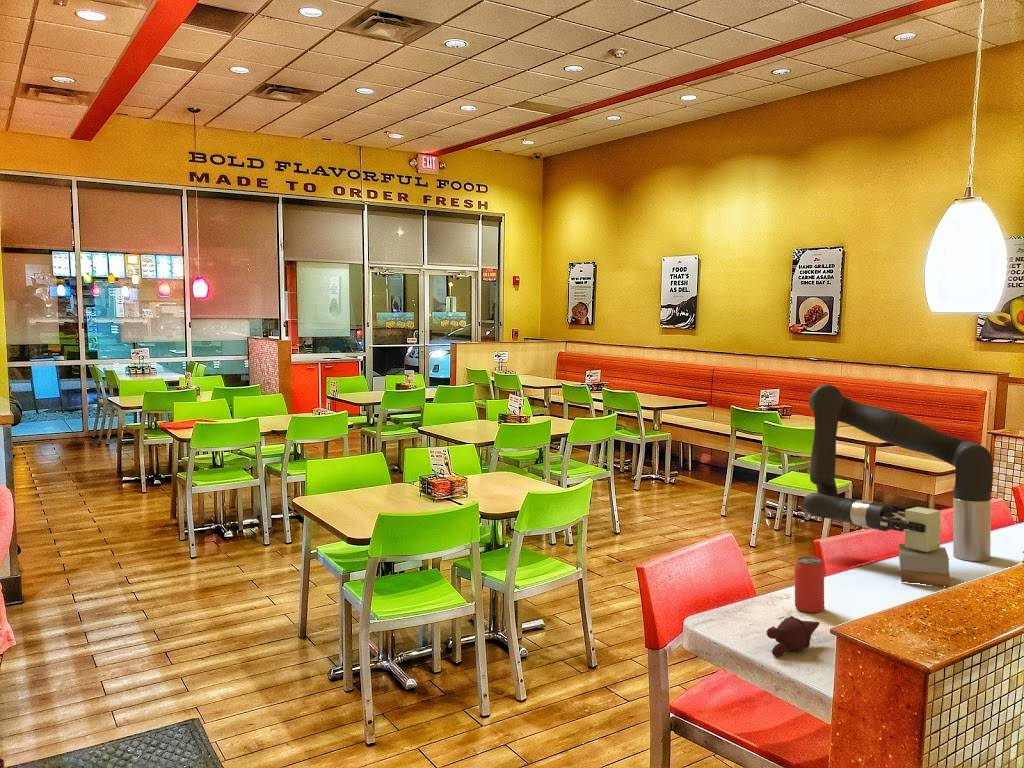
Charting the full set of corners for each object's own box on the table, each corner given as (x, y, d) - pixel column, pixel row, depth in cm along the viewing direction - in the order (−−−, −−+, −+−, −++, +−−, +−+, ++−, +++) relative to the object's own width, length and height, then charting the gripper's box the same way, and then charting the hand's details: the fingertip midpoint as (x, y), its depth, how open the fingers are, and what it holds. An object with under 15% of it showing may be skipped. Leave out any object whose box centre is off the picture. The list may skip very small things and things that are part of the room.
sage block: (917, 543, 205) (917, 506, 205) (939, 548, 200) (940, 510, 200) (904, 546, 202) (905, 509, 202) (927, 551, 197) (927, 514, 196)
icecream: (800, 605, 166) (752, 626, 159) (828, 607, 160) (779, 628, 153) (809, 637, 166) (761, 659, 158) (837, 640, 159) (788, 663, 152)
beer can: (819, 615, 177) (819, 565, 177) (791, 610, 181) (790, 561, 181) (827, 607, 182) (827, 558, 182) (799, 602, 186) (799, 554, 186)
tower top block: (899, 558, 208) (898, 543, 208) (944, 562, 204) (945, 547, 203) (900, 569, 198) (900, 554, 198) (948, 573, 194) (948, 558, 193)
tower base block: (900, 572, 208) (900, 558, 208) (946, 577, 204) (946, 562, 203) (901, 584, 199) (901, 569, 198) (949, 589, 194) (949, 574, 193)
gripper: (856, 505, 209) (916, 516, 195) (887, 498, 217) (947, 508, 202) (856, 532, 209) (916, 545, 195) (887, 524, 217) (946, 536, 203)
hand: (931, 526), depth 199 cm, fingers closed on sage block, 6 cm apart
